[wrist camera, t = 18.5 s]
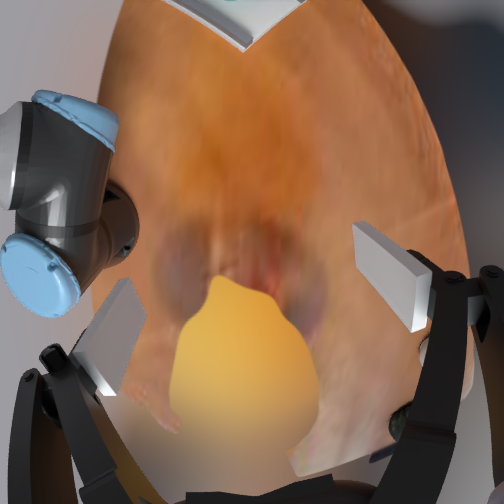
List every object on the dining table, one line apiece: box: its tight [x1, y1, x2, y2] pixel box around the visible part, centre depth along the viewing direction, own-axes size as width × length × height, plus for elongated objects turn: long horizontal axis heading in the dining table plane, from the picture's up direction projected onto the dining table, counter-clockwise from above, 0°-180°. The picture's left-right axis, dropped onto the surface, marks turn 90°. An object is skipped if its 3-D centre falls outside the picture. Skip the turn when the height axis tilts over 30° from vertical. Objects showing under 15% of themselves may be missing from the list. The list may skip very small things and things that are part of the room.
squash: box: [389, 406, 411, 442], centre depth 70 cm, size 14×15×15 cm
